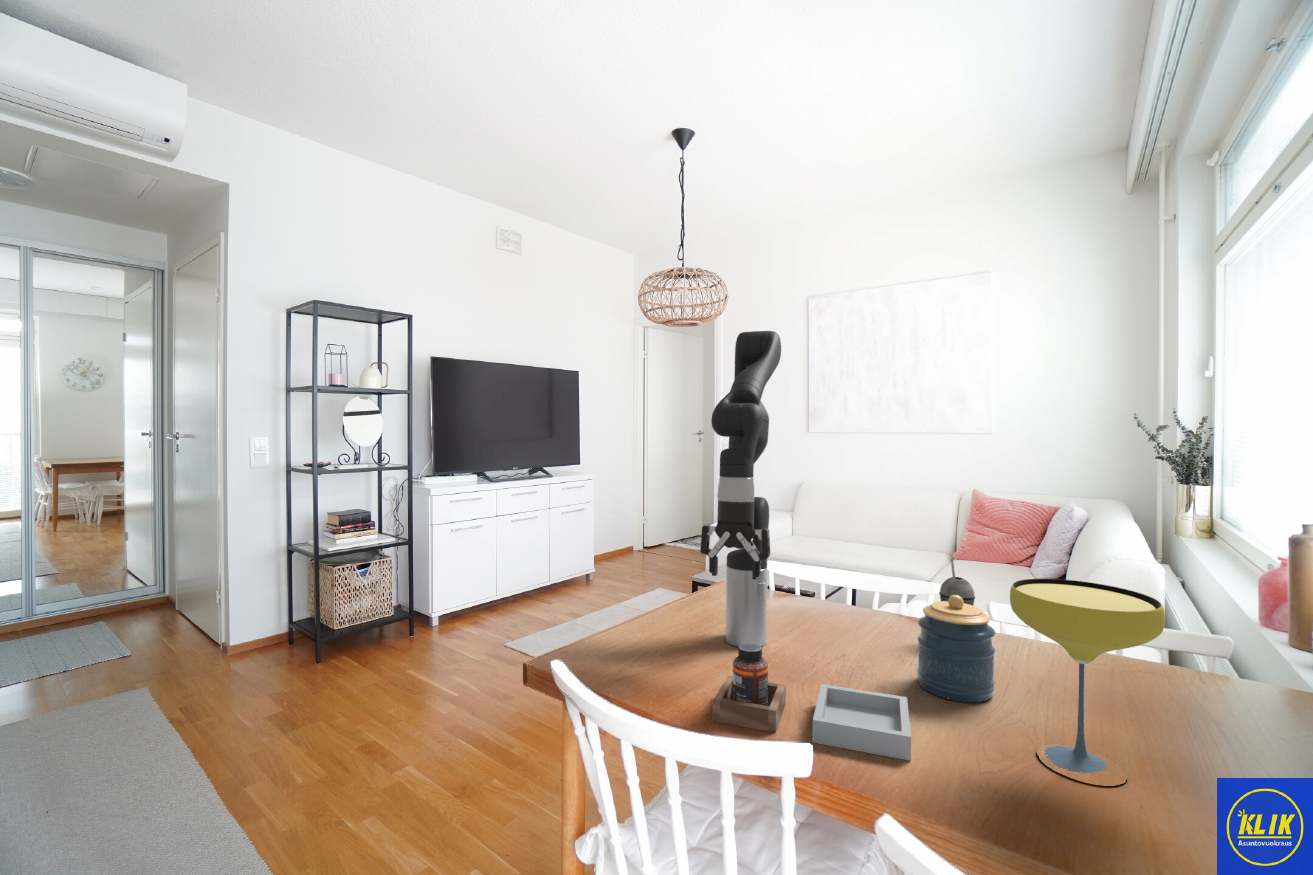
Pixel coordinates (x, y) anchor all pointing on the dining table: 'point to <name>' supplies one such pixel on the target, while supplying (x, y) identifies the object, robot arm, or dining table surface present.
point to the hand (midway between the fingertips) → (734, 577)
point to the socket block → (749, 708)
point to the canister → (956, 651)
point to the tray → (863, 721)
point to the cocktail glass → (1085, 635)
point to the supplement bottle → (750, 675)
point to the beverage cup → (957, 588)
